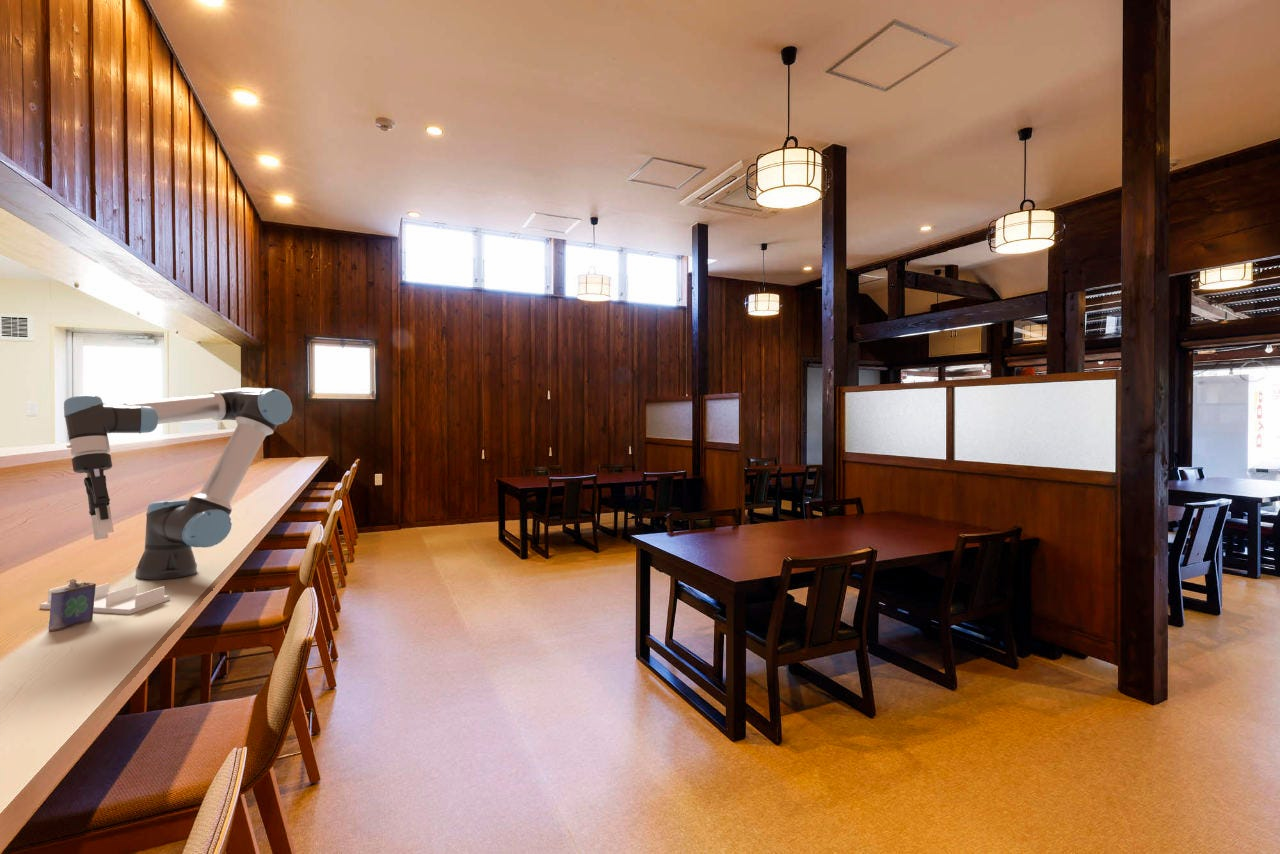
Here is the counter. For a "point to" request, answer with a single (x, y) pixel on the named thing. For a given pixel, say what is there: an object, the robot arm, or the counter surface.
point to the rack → (119, 599)
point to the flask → (71, 605)
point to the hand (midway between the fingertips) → (103, 536)
